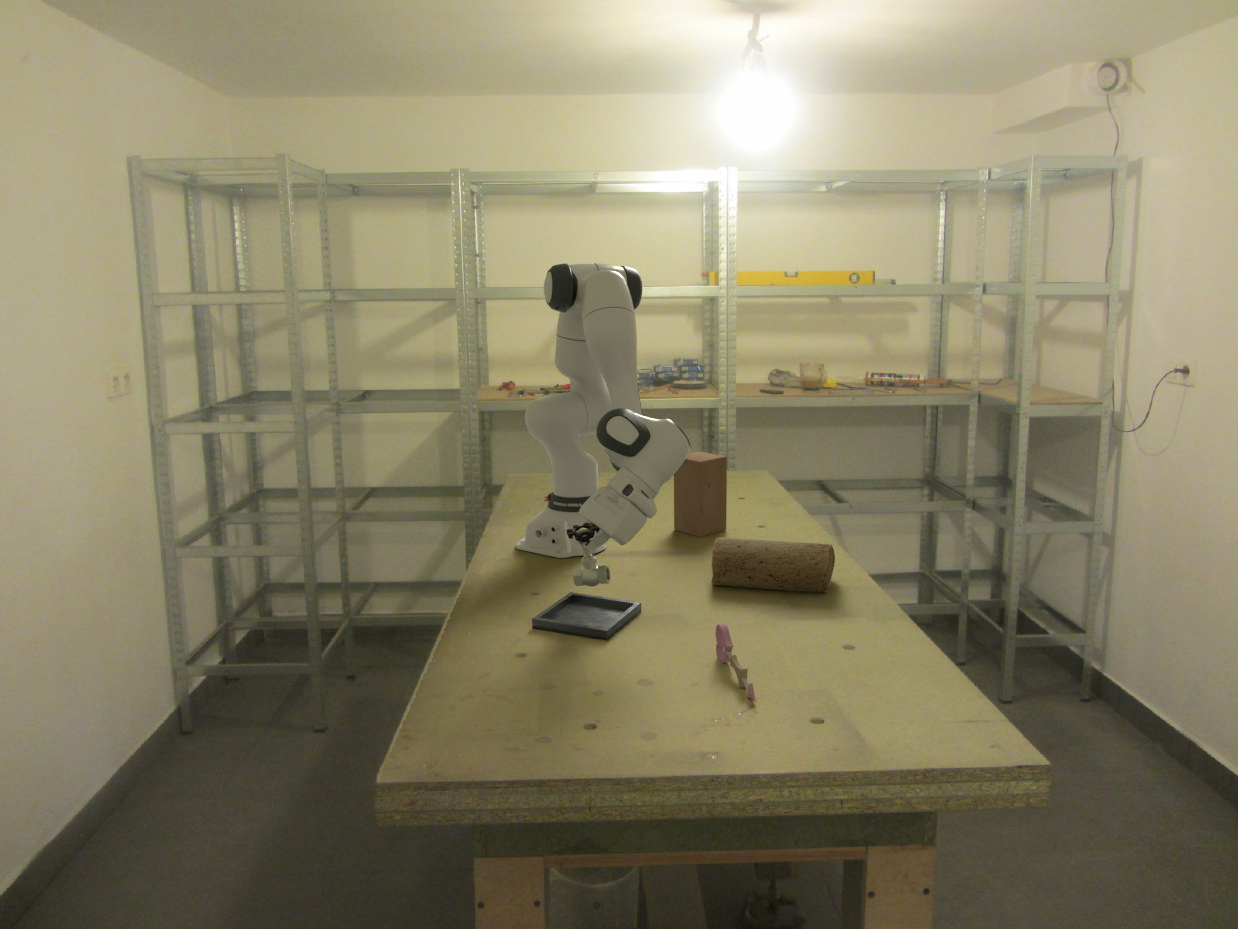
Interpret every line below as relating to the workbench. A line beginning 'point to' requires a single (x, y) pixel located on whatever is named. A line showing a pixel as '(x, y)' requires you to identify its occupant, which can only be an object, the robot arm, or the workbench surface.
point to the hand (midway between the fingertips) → (583, 547)
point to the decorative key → (731, 658)
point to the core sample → (772, 564)
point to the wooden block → (701, 494)
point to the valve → (588, 559)
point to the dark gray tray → (587, 616)
